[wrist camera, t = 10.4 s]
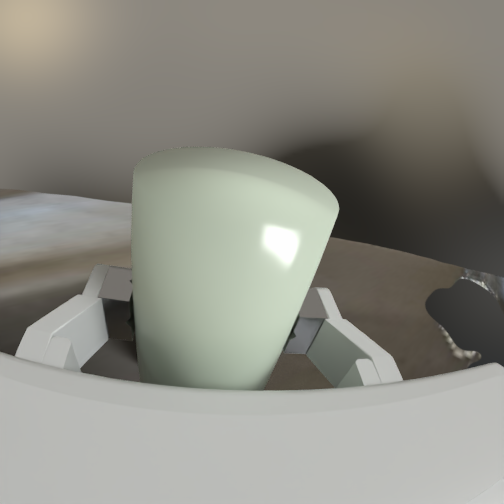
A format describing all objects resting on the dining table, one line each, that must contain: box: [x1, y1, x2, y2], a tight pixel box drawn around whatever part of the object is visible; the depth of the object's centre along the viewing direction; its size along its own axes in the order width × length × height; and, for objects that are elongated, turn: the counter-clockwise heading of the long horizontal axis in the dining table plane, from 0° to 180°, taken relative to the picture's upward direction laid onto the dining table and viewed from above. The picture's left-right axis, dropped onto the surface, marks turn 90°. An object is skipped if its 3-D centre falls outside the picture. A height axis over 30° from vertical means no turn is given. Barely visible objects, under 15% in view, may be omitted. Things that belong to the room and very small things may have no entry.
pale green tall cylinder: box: [131, 147, 339, 391], centre depth 10 cm, size 5×5×10 cm
